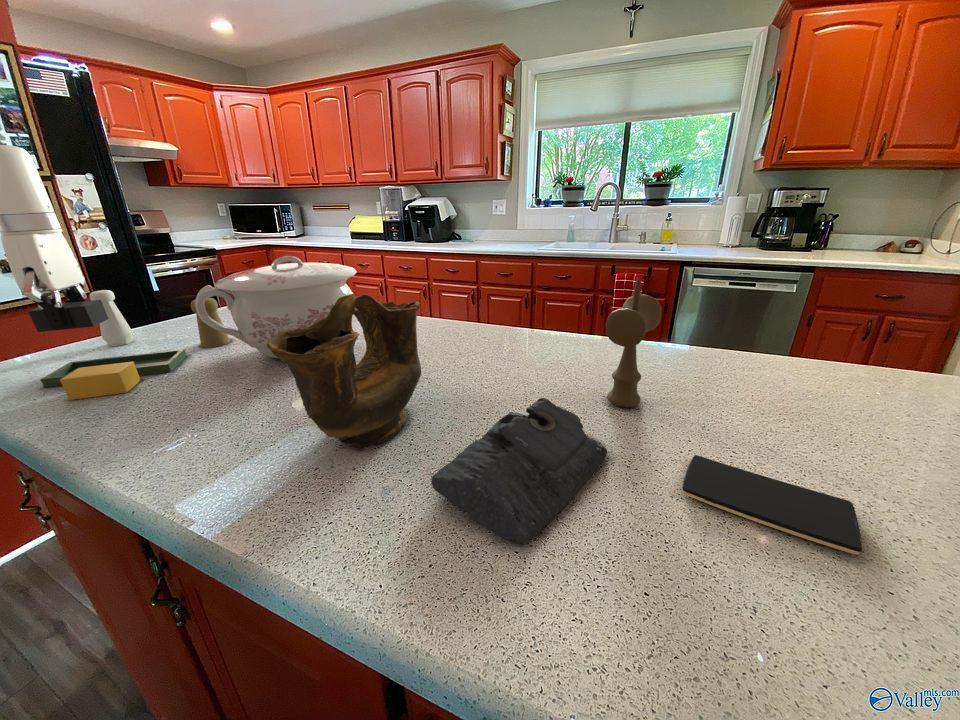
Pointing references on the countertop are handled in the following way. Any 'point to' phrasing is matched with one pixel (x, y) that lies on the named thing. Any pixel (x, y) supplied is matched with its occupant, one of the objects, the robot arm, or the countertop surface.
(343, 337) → the pottery vessel
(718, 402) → the countertop surface
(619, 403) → the kendama
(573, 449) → the dark slate chunk
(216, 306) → the olive knobbed cylinder
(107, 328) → the salt shaker
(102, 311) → the charcoal pad
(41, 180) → the robot arm
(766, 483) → the smartphone
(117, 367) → the mustard pad
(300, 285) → the chamber pot
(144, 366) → the tray
